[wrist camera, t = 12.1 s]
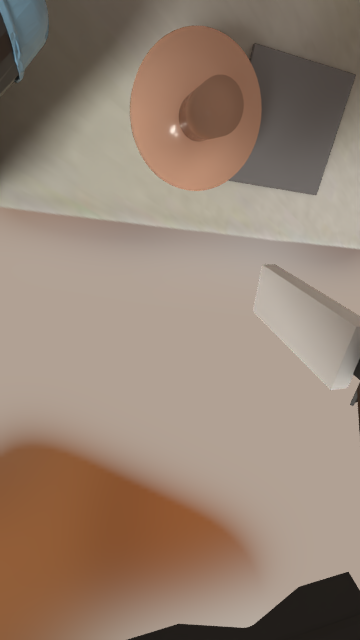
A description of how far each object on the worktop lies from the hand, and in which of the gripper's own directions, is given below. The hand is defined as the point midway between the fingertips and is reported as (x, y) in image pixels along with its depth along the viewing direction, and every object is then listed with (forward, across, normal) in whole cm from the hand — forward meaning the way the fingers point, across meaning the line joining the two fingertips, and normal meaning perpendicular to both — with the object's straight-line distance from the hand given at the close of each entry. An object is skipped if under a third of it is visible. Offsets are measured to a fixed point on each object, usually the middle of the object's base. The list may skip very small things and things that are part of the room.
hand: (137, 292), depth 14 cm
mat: (+30, +24, +11) cm, 40 cm away
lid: (+21, +8, +10) cm, 24 cm away
